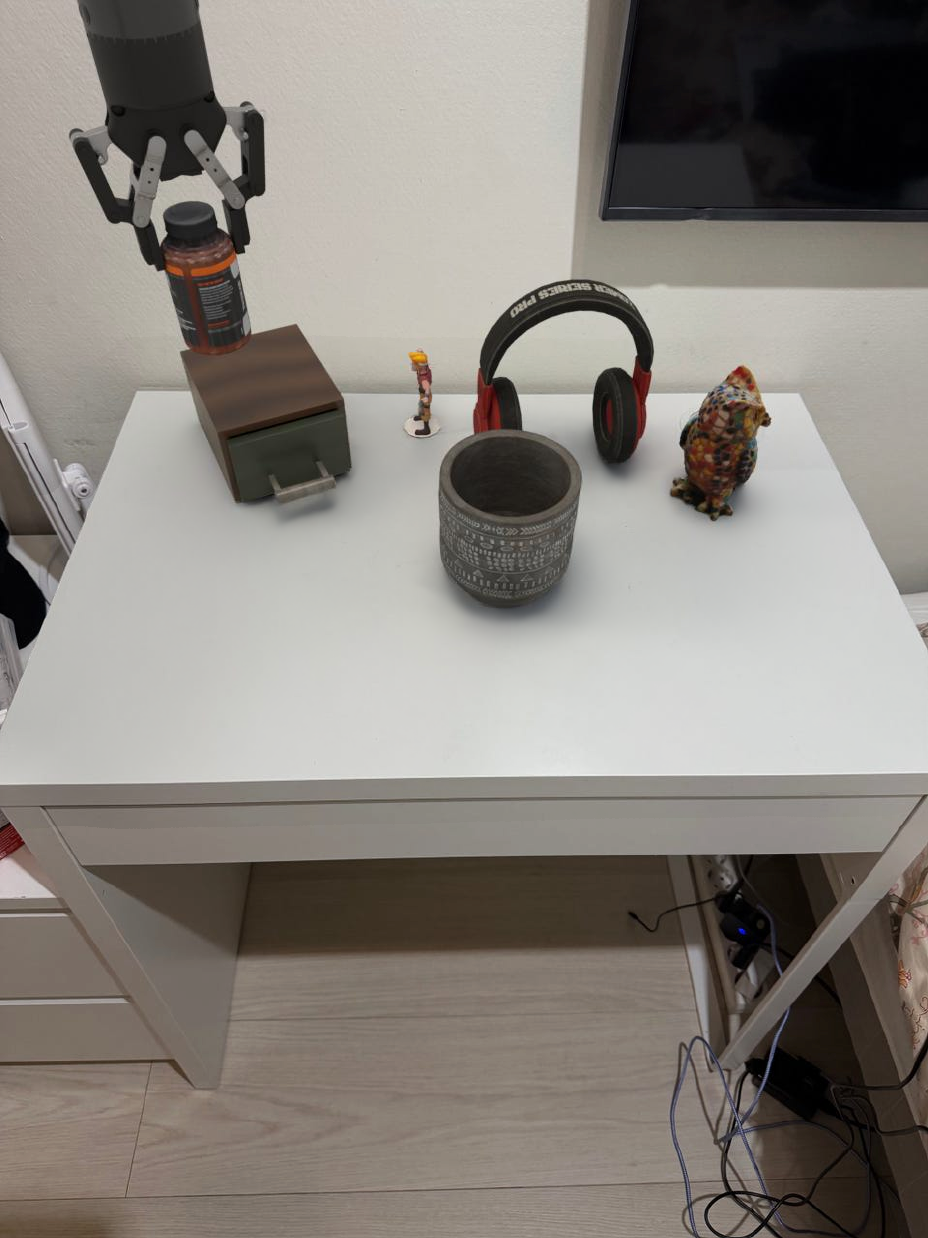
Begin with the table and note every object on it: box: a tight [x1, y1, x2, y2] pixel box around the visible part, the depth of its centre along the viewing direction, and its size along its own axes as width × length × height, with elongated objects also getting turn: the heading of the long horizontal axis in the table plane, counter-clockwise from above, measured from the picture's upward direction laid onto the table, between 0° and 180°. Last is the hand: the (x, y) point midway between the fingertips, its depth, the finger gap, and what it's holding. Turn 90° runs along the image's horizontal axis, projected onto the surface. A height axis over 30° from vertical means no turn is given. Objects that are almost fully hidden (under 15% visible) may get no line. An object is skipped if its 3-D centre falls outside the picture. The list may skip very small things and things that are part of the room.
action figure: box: [403, 347, 440, 438], centre depth 91 cm, size 12×3×9 cm, turn 5°
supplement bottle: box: [159, 200, 252, 356], centre depth 71 cm, size 6×6×11 cm
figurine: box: [669, 364, 772, 522], centre depth 83 cm, size 9×9×15 cm
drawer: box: [226, 409, 351, 506], centre depth 87 cm, size 18×12×7 cm, turn 26°
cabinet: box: [179, 323, 353, 503], centre depth 90 cm, size 15×13×9 cm
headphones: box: [472, 278, 655, 465], centre depth 84 cm, size 18×10×20 cm, turn 99°
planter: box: [437, 429, 583, 609], centre depth 76 cm, size 12×12×13 cm
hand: (198, 257), depth 69 cm, fingers closed on supplement bottle, 6 cm apart
